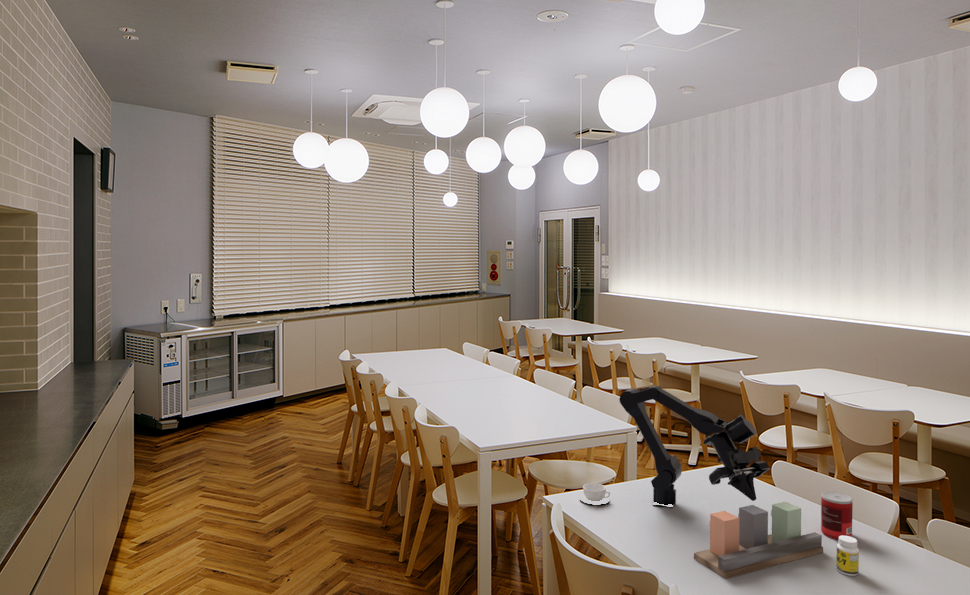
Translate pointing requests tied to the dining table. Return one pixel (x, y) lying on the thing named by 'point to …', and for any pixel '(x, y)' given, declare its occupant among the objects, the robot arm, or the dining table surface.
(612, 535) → the dining table surface
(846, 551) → the supplement bottle
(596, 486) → the teacup
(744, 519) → the gray rectangular block
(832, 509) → the canned food
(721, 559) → the wooden display stand
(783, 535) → the sage green block
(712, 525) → the pink upright block
